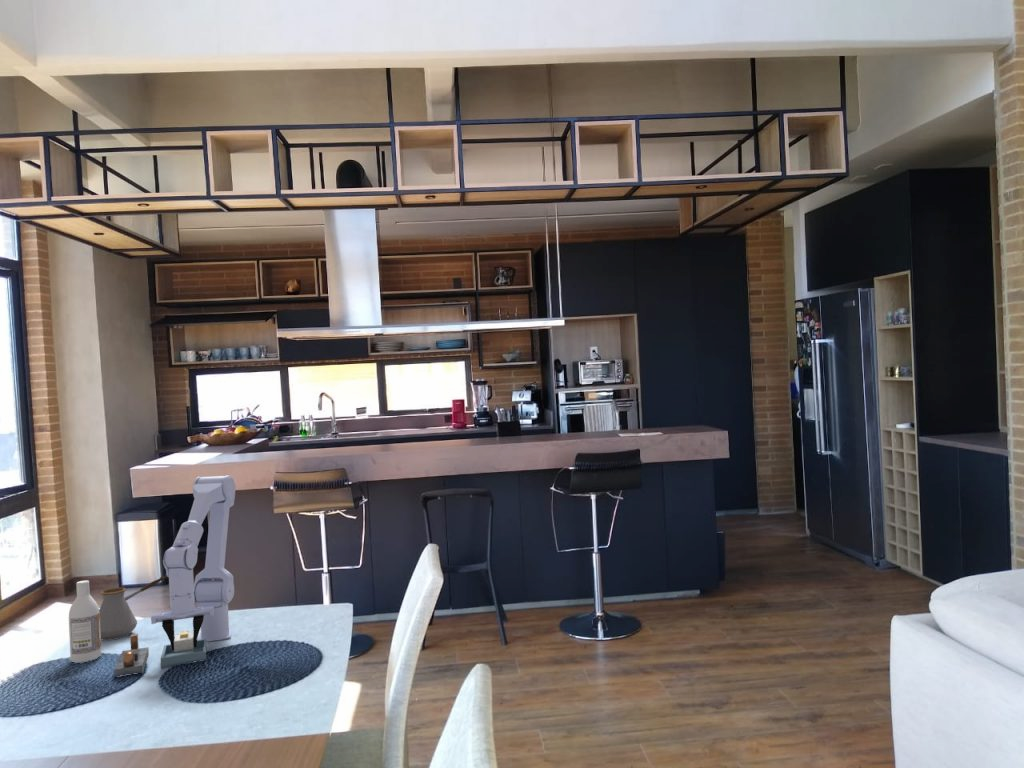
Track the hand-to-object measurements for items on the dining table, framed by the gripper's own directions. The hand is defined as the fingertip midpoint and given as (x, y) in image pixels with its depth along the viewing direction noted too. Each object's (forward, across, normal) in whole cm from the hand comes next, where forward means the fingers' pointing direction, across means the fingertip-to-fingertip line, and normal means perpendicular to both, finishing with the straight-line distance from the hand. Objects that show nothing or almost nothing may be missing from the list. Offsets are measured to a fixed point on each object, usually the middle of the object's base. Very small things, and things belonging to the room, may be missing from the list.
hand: (184, 647), depth 194 cm
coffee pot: (+3, -15, +33) cm, 36 cm away
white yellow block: (0, 0, 0) cm, 0 cm away
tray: (+3, 0, 0) cm, 3 cm away
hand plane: (+3, -12, 0) cm, 12 cm away
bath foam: (+3, -24, +12) cm, 27 cm away
